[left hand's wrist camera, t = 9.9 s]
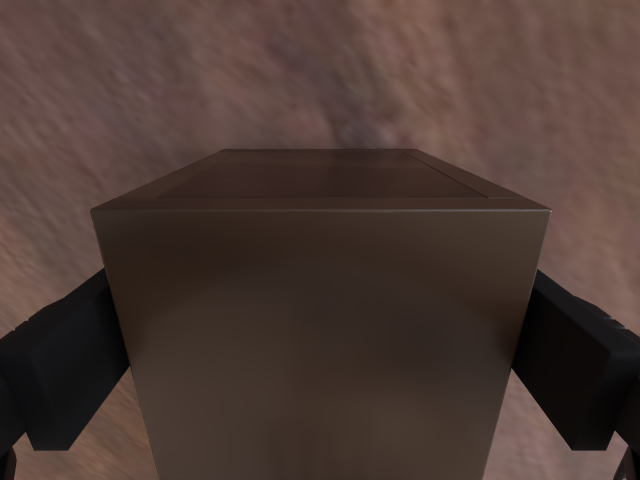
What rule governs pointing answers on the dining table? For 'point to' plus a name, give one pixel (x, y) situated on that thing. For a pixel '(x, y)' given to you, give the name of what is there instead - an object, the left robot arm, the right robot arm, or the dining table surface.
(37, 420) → the left robot arm
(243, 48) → the dining table surface
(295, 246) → the brown block
